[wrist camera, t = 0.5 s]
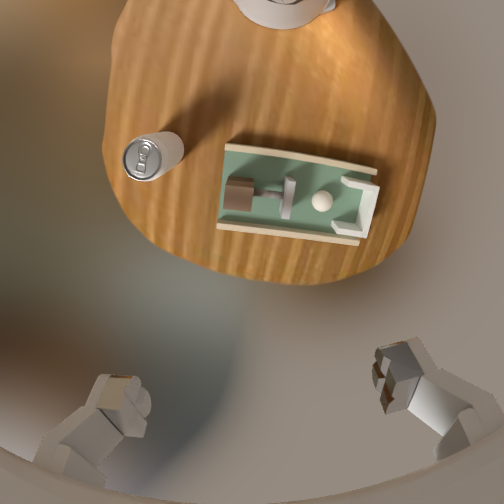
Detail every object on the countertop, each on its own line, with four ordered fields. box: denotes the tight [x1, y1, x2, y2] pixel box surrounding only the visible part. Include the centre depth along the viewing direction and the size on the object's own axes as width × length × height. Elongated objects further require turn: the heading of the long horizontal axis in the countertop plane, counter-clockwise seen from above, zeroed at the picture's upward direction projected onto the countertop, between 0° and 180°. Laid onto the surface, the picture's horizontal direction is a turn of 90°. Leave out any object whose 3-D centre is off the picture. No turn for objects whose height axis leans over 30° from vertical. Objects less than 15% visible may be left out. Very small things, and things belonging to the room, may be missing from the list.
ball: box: [312, 190, 333, 212], centre depth 46 cm, size 4×4×4 cm
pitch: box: [217, 143, 377, 246], centre depth 47 cm, size 14×25×3 cm, turn 83°
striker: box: [223, 175, 296, 219], centre depth 43 cm, size 6×10×7 cm, turn 83°
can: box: [122, 131, 184, 181], centre depth 39 cm, size 6×6×12 cm
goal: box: [331, 176, 380, 238], centre depth 46 cm, size 9×6×4 cm, turn 173°
